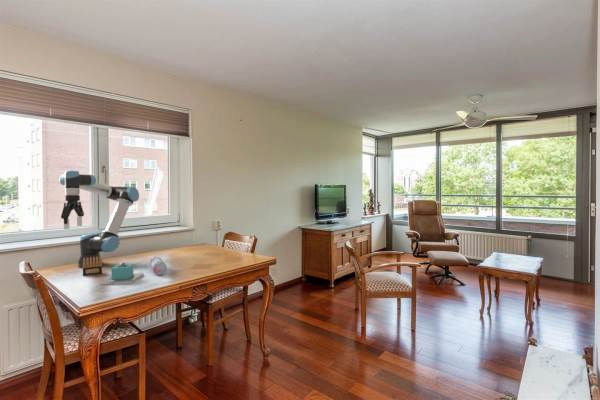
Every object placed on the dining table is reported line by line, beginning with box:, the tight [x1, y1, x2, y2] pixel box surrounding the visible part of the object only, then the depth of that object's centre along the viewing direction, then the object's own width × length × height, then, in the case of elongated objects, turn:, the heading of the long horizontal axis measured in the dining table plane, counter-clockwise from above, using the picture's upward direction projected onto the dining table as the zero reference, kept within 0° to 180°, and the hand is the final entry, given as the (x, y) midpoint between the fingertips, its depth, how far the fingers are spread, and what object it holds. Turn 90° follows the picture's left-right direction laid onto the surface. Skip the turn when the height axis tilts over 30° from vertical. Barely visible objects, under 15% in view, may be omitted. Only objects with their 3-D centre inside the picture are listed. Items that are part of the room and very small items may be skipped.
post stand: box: [99, 262, 144, 286], centre depth 193 cm, size 18×18×10 cm
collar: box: [110, 263, 134, 280], centre depth 193 cm, size 9×9×7 cm
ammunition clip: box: [82, 255, 103, 277], centre depth 204 cm, size 11×2×12 cm, turn 123°
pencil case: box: [149, 256, 168, 276], centre depth 211 cm, size 21×9×10 cm, turn 32°
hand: (73, 227), depth 200 cm, fingers open, 13 cm apart
